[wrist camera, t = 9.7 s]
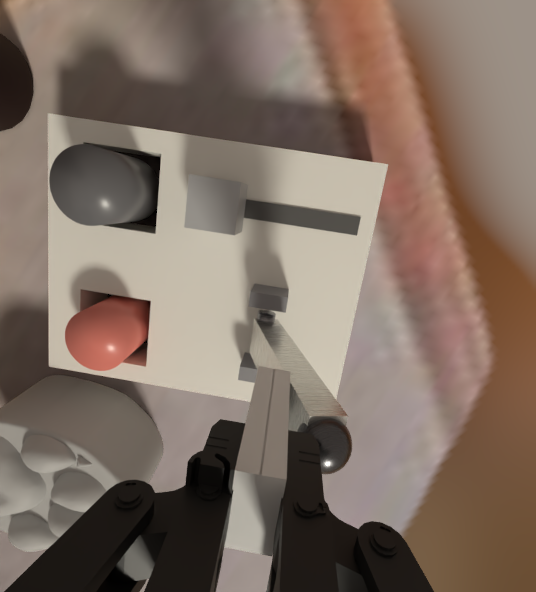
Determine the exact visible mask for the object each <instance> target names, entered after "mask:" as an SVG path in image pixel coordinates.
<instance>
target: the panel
mask: <svg viewBox="0 0 536 592" xmlns="http://www.w3.org/2000/svg"><path fill="white" fill-rule="evenodd" d="M78 144H88V145H92V146H96V147H99V148H103V149H106V150H110V151H119V152H126V153H132V154H139V155H145V156H152V157H158V158H161V164H160V178H159V192H158V207H157V221H156V227H153V226H146V225H140V224H134V223H128V222H126V223H116V224H107V225H98V226H86V225H82V224H79V223H76V222H74V221H73V220H71V219H70V218H68V217H67V216H66V215H65V214H63V212H62V211H61V210H60V209H59V208H58V206H57V205H56V203H55V201H54V199H53V197H52V194H51V190H50V183H49V177H50V170H51V167H52V164H53V162H54V160H55V159H56V157H57V156H58V155H59V154H60V153H61V152H62V151H63V150H65V149H66V148H68V147H71V146H73V145H78ZM387 167H388V164H382V163H375V162H369V161H362V160H356V159H349V158H342V157H336V156H329V155H322V154H316V153H309V152H302V151H296V150H289V149H282V148H276V147H269V146H262V145H256V144H249V143H242V142H236V141H229V140H222V139H216V138H209V137H202V136H196V135H189V134H182V133H176V132H169V131H163V130H156V129H149V128H143V127H136V126H129V125H123V124H116V123H109V122H103V121H96V120H89V119H83V118H76V117H69V116H63V115H56V114H49V113H48V297H49V367H54V368H60V369H66V370H71V371H77V372H83V373H89V374H94V375H100V376H106V377H111V378H117V379H123V380H129V381H134V382H140V383H146V384H151V385H157V386H163V387H169V388H174V389H180V390H186V391H191V392H197V393H203V394H209V395H214V396H220V397H226V398H231V399H237V400H243V401H249V402H251V397H252V393H253V389H254V384H255V380H256V375H257V368H256V366H255V364H254V361H253V359H252V357H251V354H250V352H249V350H250V343H251V337H252V330H253V323H254V318H257V314H258V311H259V310H268V311H272V312H274V313H275V314H276V316H275V319H278V321H279V322H280V324H281V325H282V326H283V328H284V329H285V330H286V332H287V333H288V335H289V336H290V337H291V339H292V340H293V341H294V343H295V344H296V345H297V347H298V348H299V350H300V351H301V352H302V354H303V355H304V356H305V358H306V359H307V361H308V362H309V363H310V365H311V366H312V367H313V369H314V370H315V371H316V373H317V374H318V376H319V377H320V378H321V380H322V381H323V382H324V384H325V385H326V387H327V388H328V389H329V391H330V392H331V393H332V395H333V396H334V397H335V399H336V398H337V393H338V389H339V384H340V380H341V375H342V371H343V366H344V362H345V357H346V353H347V348H348V344H349V339H350V334H351V330H352V325H353V321H354V316H355V312H356V307H357V303H358V298H359V294H360V289H361V285H362V280H363V276H364V271H365V267H366V262H367V258H368V253H369V249H370V244H371V240H372V235H373V231H374V226H375V222H376V217H377V213H378V208H379V204H380V199H381V194H382V190H383V185H384V181H385V176H386V172H387ZM189 174H192V175H198V176H205V177H211V178H218V179H224V180H231V181H237V182H242V183H245V184H247V185H248V189H247V197H246V205H245V212H244V220H243V228H242V232H240V233H238V234H236V235H229V234H222V233H216V232H210V231H204V230H197V229H191V228H185V227H184V224H185V213H186V202H187V191H188V180H189ZM108 294H112V295H118V296H124V297H130V298H136V299H142V300H148V301H151V306H150V320H149V334H148V344H146V343H143V344H142V345H140V346H139V347H138V348H137V349H136V350H135V351H134V352H133V353H132V354H131V355H129V356H128V357H127V358H126V359H125V360H124V361H123V362H122V363H121V364H119V365H118V366H117V367H115V368H113V369H110V370H106V371H96V370H92V369H89V368H86V367H84V366H83V365H81V364H80V363H78V362H77V361H76V360H75V359H74V358H73V356H72V355H71V354H70V352H69V350H68V348H67V345H66V342H65V330H66V326H67V324H68V322H69V320H70V319H71V318H72V317H73V316H74V315H75V314H77V313H79V312H81V311H83V310H85V309H87V308H89V307H91V306H93V305H95V304H97V303H99V302H101V301H103V300H105V299H107V296H108Z"/></svg>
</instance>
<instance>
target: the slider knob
mask: <svg viewBox="0 0 536 592" xmlns="http://www.w3.org/2000/svg"><path fill="white" fill-rule="evenodd" d="M247 189H248V185H247V184H245V183H242V182H237V181H231V180H224V179H218V178H211V177H205V176H198V175H192V174H189V180H188V191H187V202H186V213H185V224H184V227H185V228H191V229H197V230H204V231H210V232H216V233H222V234H229V235H236V234H238V233H240V232H242V228H243V220H244V212H245V205H246V197H247Z"/></svg>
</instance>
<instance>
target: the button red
mask: <svg viewBox="0 0 536 592" xmlns="http://www.w3.org/2000/svg"><path fill="white" fill-rule="evenodd" d="M150 306H151V301H148V300H142V299H136V298H130V297H124V296H118V295H113V296H111V297H109V298H107V299H105V300H103V301H101V302H99V303H97V304H95V305H93V306H91V307H89V308H87V309H85V310H83V311H81V312H79V313H77V314H75V315H74V316H73V317H72V318H71V319H70V320H69V322H68V324H67V326H66V330H65V342H66V345H67V348H68V350H69V352H70V354H71V355H72V356H73V358H74V359H75V360H76V361H77V362H78V363H80V364H81V365H83V366H84V367H86V368H89V369H92V370H96V371H106V370H110V369H113V368H115V367H117V366H118V365H119V364H121V363H122V362H123V361H124V360H125V359H126V358H127V357H128V356H129V355H131V354H132V353H133V352H134V351H135V350H136V349H137V348H138V347H139V346H140V345H142V344H143V343H144V342H145V341H146V340H147V339H148V334H149V320H150Z"/></svg>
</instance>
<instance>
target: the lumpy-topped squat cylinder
mask: <svg viewBox="0 0 536 592" xmlns="http://www.w3.org/2000/svg"><path fill="white" fill-rule="evenodd" d="M163 450H164V448H163V441H162V438H161V435H160V433H159V431H158V429H157V427H156V425H155V423H154V422H153V420H152V419H151V418H150V417H149V416H148V414H147V413H146V412H145V411H144V410H143V409H142V408H141V407H140V406H139V405H138V404H137V403H135V402H134V401H133V400H132V399H131V398H130V397H128V396H127V395H125V394H123V393H121V392H119V391H117V390H114V389H112V388H109V387H107V386H104V385H101V384H98V383H95V382H92V381H88V380H84V379H79V378H75V377H71V376H66V375H53V376H48V377H46V378H43V379H42V380H40V381H39V382H37V383H36V384H34V385H33V386H32V387H30V388H29V389H27V390H26V391H24V392H23V393H21V394H20V395H18V396H17V397H16V398H14V399H13V400H11V401H10V402H8V403H7V404H5V405H4V406H3V407H1V408H0V530H1V531H3V532H6V533H8V538H9V541H10V543H11V544H12V545H13V546H14V547H16V548H18V549H20V550H22V551H26V552H35V551H40V550H44V549H47V548H49V547H50V546H51V545H52V544H53V543H54V542H55V541H56V540H57V539H58V538H60V537H61V536H62V535H63V534H64V533H65V532H66V531H67V530H68V529H69V528H70V527H71V526H72V525H73V524H74V523H75V522H76V521H77V520H78V519H79V518H80V517H81V516H82V515H83V514H84V513H85V512H86V511H87V510H88V509H89V508H90V507H91V506H92V505H93V504H94V503H95V502H96V501H97V500H98V499H99V498H100V497H101V496H102V495H103V494H104V493H105V492H106V491H107V490H109V489H110V488H111V487H113V486H114V485H115V484H117V483H120V482H123V481H126V480H140V481H145V482H146V483H149V482H150V480H151V478H152V476H153V474H154V472H155V470H156V468H157V466H158V464H159V463H160V461H161V459H162V456H163Z"/></svg>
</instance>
